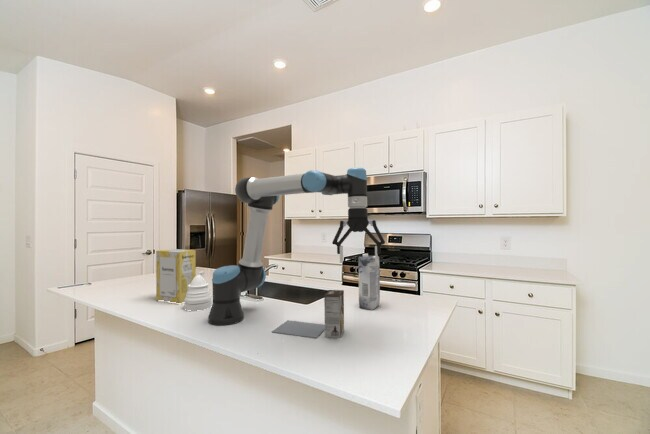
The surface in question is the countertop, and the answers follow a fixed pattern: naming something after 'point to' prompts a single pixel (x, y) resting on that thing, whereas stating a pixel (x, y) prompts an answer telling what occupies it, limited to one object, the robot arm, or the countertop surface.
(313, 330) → the mat
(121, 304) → the countertop surface
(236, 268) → the robot arm
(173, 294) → the pasta box
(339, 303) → the coffee box
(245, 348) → the countertop surface
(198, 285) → the honey pot
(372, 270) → the juice carton
